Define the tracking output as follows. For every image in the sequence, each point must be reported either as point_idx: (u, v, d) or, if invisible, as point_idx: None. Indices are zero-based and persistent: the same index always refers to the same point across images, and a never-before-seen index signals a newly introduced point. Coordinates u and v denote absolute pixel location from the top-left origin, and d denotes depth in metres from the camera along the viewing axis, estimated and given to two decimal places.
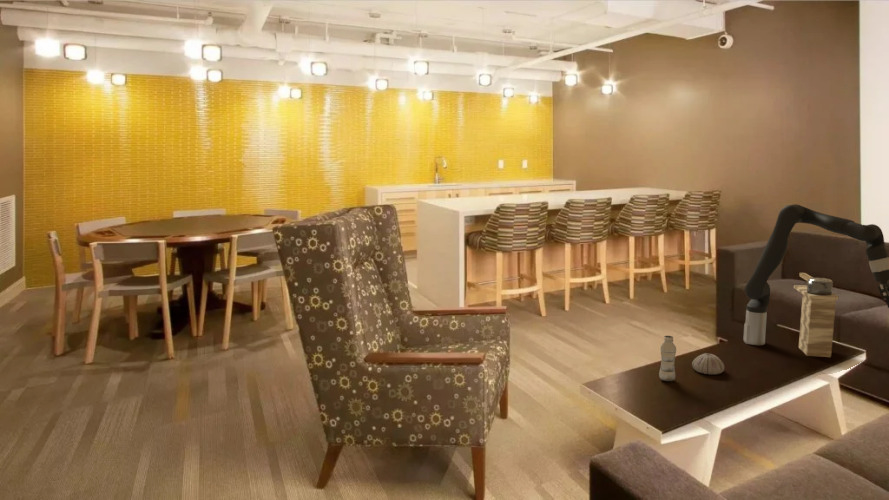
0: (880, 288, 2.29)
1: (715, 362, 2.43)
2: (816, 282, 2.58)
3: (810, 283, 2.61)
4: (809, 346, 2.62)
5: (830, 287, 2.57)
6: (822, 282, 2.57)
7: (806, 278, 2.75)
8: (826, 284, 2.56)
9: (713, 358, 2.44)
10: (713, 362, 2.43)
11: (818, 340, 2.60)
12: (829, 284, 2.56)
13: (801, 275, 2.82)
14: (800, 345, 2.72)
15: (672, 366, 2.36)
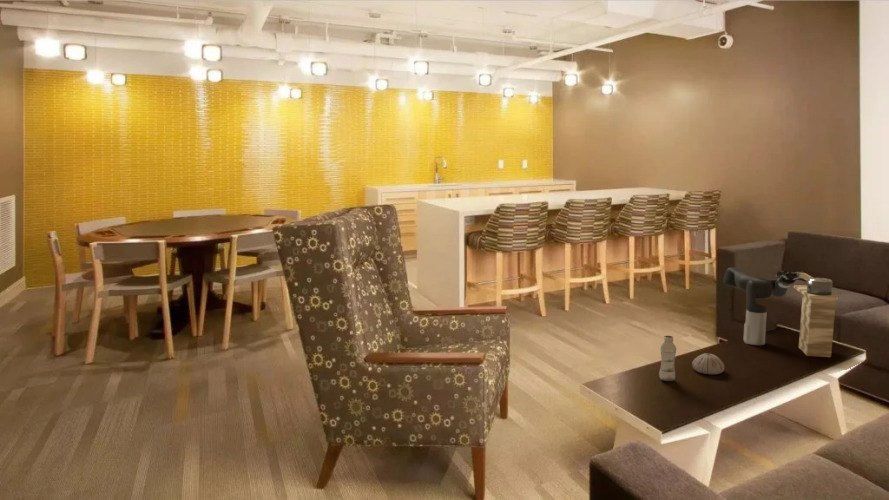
0: None
1: (715, 362, 2.43)
2: (816, 282, 2.58)
3: (810, 283, 2.61)
4: (809, 346, 2.62)
5: (830, 287, 2.57)
6: (822, 282, 2.57)
7: (806, 278, 2.75)
8: (826, 284, 2.56)
9: (713, 358, 2.44)
10: (713, 362, 2.43)
11: (818, 340, 2.60)
12: (829, 284, 2.57)
13: (801, 275, 2.82)
14: (800, 345, 2.72)
15: (672, 366, 2.36)
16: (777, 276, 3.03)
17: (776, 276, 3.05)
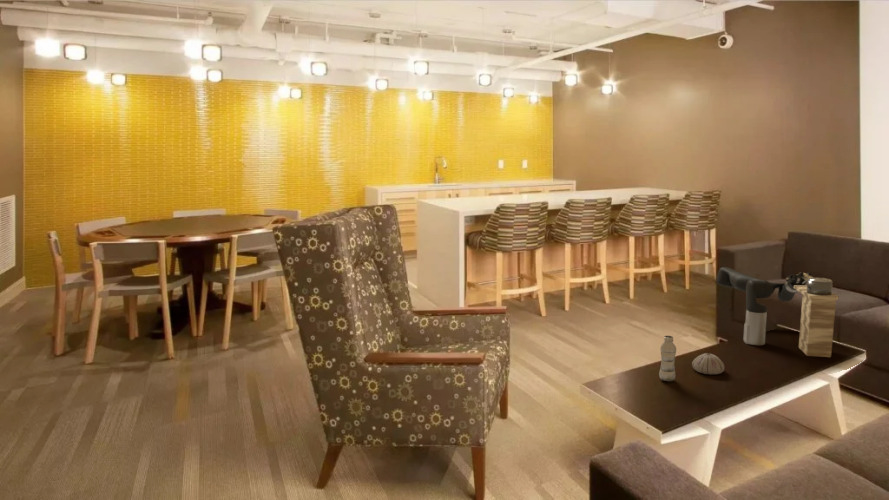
0: None
1: (714, 362, 2.43)
2: (816, 282, 2.58)
3: (810, 283, 2.61)
4: (809, 346, 2.62)
5: (830, 287, 2.57)
6: (822, 282, 2.57)
7: (806, 278, 2.75)
8: (826, 284, 2.56)
9: (713, 358, 2.44)
10: (713, 362, 2.43)
11: (818, 340, 2.60)
12: (829, 284, 2.57)
13: None
14: (800, 345, 2.72)
15: (672, 366, 2.36)
16: (791, 279, 2.85)
17: (788, 279, 2.87)
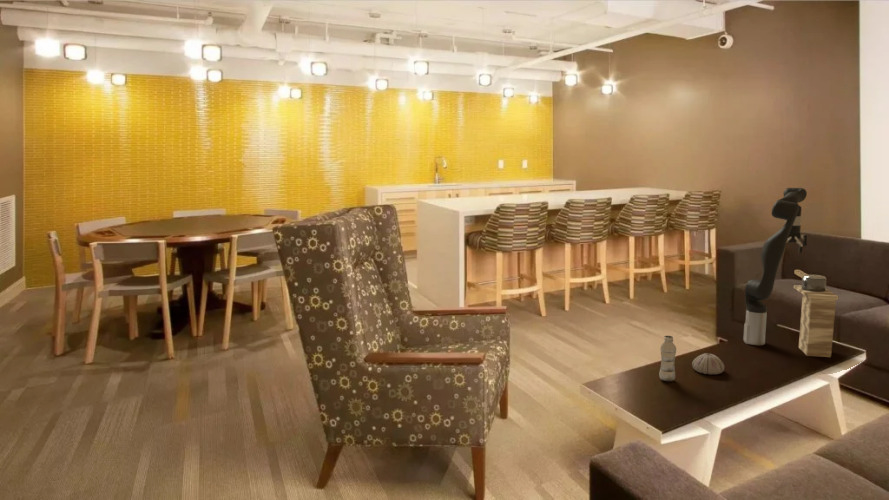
0: None
1: (715, 362, 2.43)
2: (810, 279, 2.65)
3: (804, 280, 2.68)
4: (809, 346, 2.62)
5: (824, 283, 2.64)
6: (816, 279, 2.64)
7: (801, 275, 2.82)
8: (820, 281, 2.63)
9: (713, 358, 2.44)
10: (713, 362, 2.43)
11: (818, 340, 2.60)
12: (823, 281, 2.64)
13: (796, 272, 2.89)
14: (800, 345, 2.72)
15: (672, 366, 2.36)
16: None
17: None
